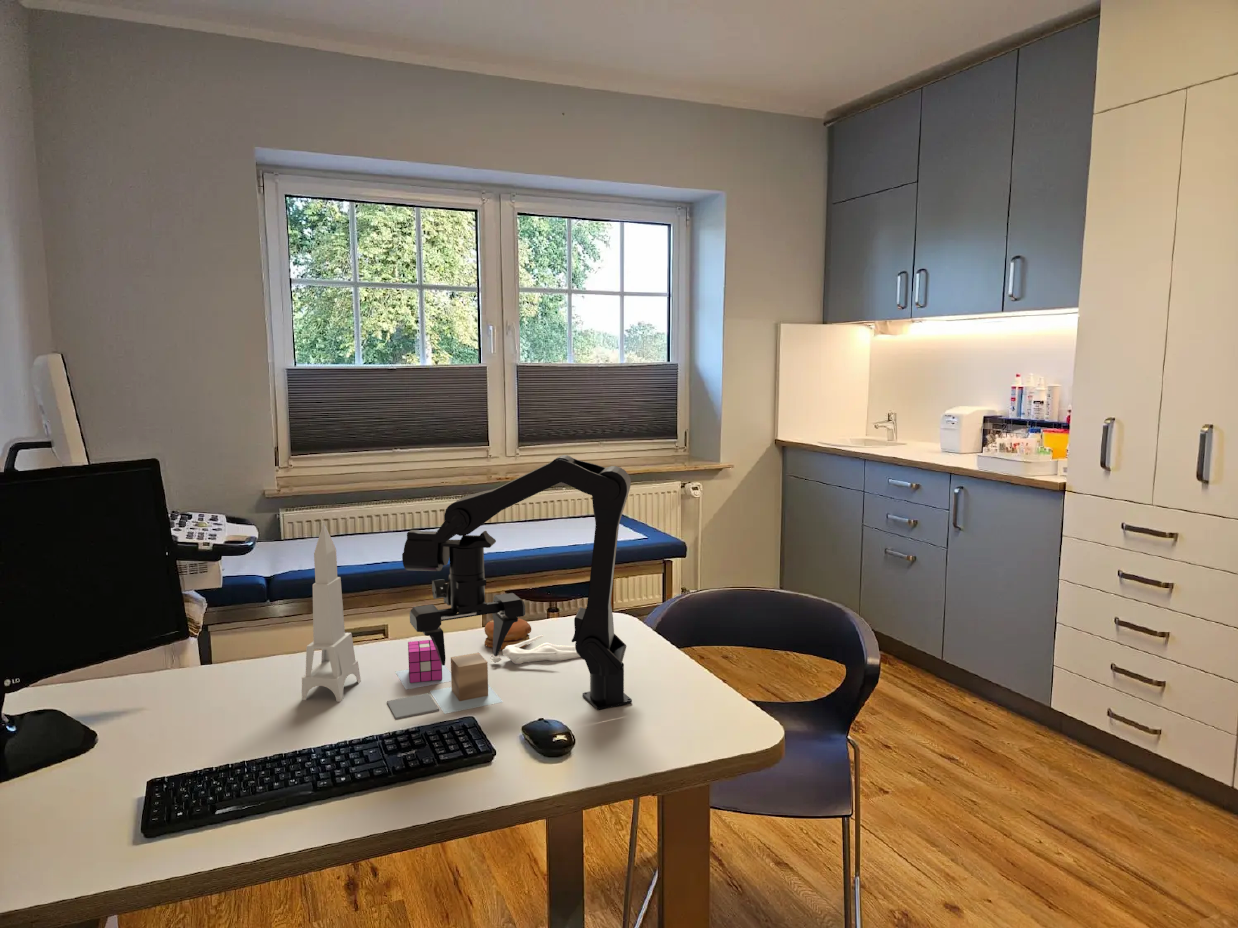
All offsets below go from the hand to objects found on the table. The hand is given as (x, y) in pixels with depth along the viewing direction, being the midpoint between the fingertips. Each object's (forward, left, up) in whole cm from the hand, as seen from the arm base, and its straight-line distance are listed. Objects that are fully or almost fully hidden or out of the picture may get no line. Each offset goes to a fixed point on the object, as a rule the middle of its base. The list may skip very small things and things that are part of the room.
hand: (469, 659), depth 139 cm
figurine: (+9, -20, -7) cm, 23 cm away
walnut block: (0, 0, -6) cm, 6 cm away
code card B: (+11, +5, -6) cm, 14 cm away
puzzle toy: (+11, +5, -6) cm, 14 cm away
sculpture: (+12, +21, -6) cm, 25 cm away
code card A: (-1, +1, -6) cm, 6 cm away
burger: (+21, -14, -6) cm, 26 cm away
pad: (-1, +10, -6) cm, 12 cm away
